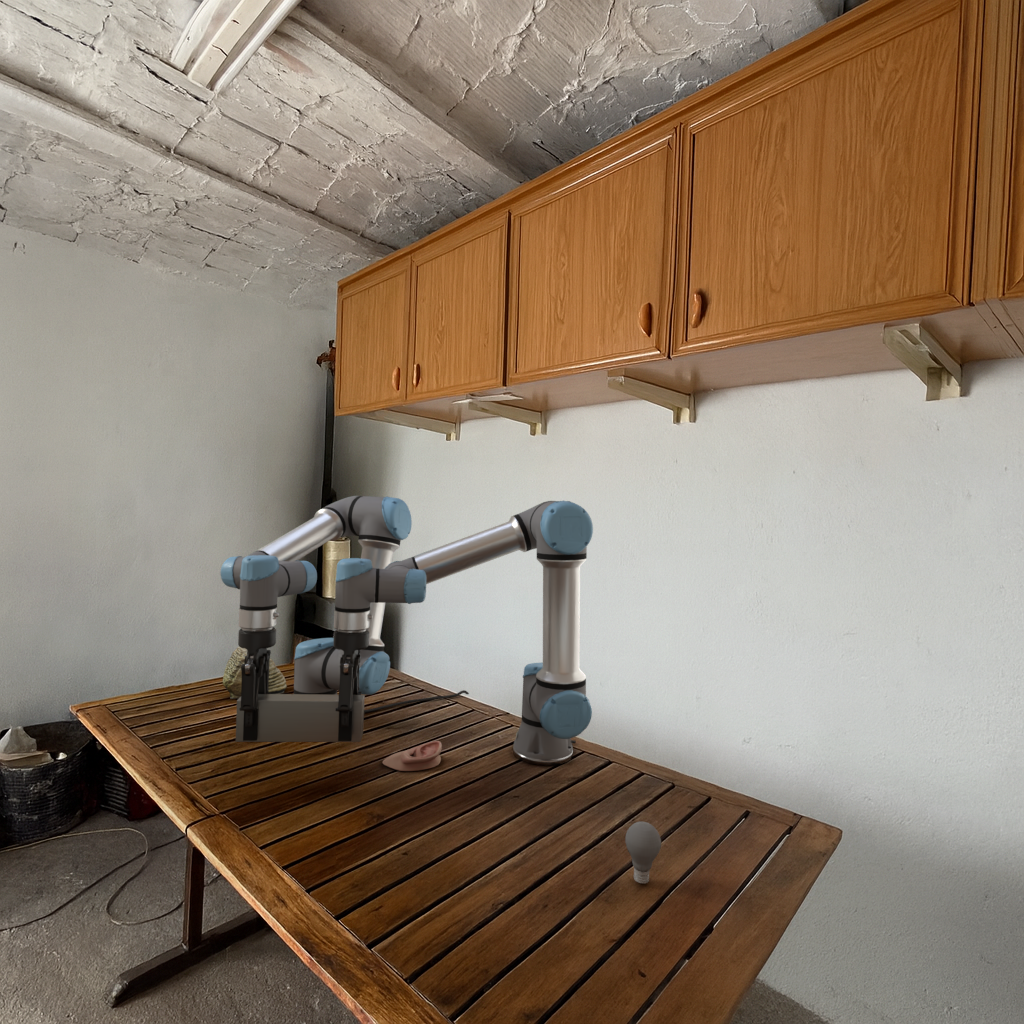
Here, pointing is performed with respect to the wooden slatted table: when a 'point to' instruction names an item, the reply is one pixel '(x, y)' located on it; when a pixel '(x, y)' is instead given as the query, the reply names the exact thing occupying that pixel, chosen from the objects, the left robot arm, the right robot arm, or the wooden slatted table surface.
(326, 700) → the bar
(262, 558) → the left robot arm
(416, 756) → the anatomical model
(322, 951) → the wooden slatted table surface
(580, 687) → the right robot arm
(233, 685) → the fossil
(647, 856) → the light bulb
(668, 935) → the wooden slatted table surface
